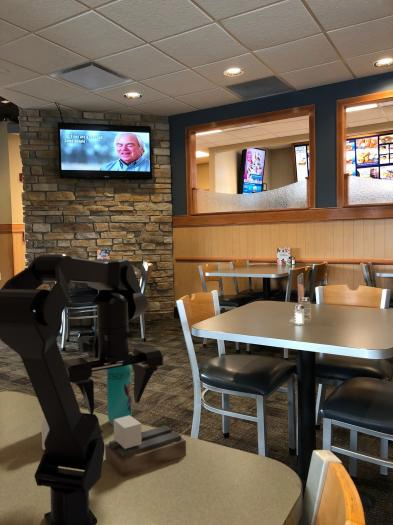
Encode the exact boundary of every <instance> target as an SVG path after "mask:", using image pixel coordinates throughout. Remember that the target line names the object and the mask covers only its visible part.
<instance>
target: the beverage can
mask: <svg viewBox="0 0 393 525" xmlns="http://www.w3.org/2000/svg"><path fill="white" fill-rule="evenodd" d="M120 362H122V361H120ZM109 364H111V363H109ZM106 387H107V390H106V391H107V392H106V394H107V395H106V396H107V418H108V420H109V422H110V424H111V425H113V426H114V419H117V418H121V417H125V416H129V415H130V416H131V417H133V416H132V415H133V406H132V405H133V401H132V400H133V398H132V394H133V392H132V365H126V366H121V367H115V368H110V369H106Z"/></svg>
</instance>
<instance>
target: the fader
mask: <svg viewBox="0 0 393 525" xmlns="http://www.w3.org/2000/svg"><path fill="white" fill-rule="evenodd" d="M141 432H142V423H141V422H140V421H139V420H137V419H136V418H134V417H133V416H130V415H129V416H125V417H121V418H117V419H114V425H113V440H115V441H117V442H118V443H119V444H120V445H121V446H122V447H123V448H124V449H126V448H130V447H133V446H136V445H140V444H141Z"/></svg>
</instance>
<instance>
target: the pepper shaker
mask: <svg viewBox="0 0 393 525" xmlns="http://www.w3.org/2000/svg"><path fill="white" fill-rule="evenodd" d="M48 431H49V426H48V424H47V421H46V419H45V416H44V415H43V416H42V417H41V449H42V450H43V451H45V445H44V441H45V439H46V436H47V434H48Z"/></svg>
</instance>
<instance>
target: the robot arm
mask: <svg viewBox="0 0 393 525" xmlns="http://www.w3.org/2000/svg"><path fill="white" fill-rule="evenodd" d="M45 282H46V283H49V282H50V283H51V282H53V283H55V284H54V285H53V287H52V288H51V290H49V289H46V288H45V289H43V288H42V289H41V288H40V289H39V287H40V286H42V284H43V283H45ZM70 282H72V283H83V284H84V283H85V284H87V286H88V287H89V288H92V289H94V290H98V293H97V294H96V295H95V296H94V298H93V299H92V300H91V304H92V305H95V306H96V314H97V316H96V319H97V322H96V323H97V325H96V326H97V327H96V328H97V329H96V330H95V331H94V338H91V337H90V335H82V336H79V337H78V338H77V350H78V353H79V354H80V355H81V354H87V355H88V358H90V359H91V358H94V359H96V360H90V361H89V360H86V359H85V358H84V357H81V356H80V357H74V358H70V359H63V356H62V354H61V350H60V348H59V345H58V341H57V338H58V336H59V334H60V332H61V331H60V330H61V328H62V326H63V319H62V314H63V311H64V310H65V309H66V307H67V305H68V303H69V301H70V295H69V294H70V293H69V286H68V285H69V284H70ZM147 308H148V300H147V298H146V296H145V294H144V293H143V292H142V288H141V286H140V283H139V280H138V277H137V275H136V271H135V268H134V267H133V265H132V264H131V261H130V260H128V259H127V258H121V259H120V258H117V259H115V258H113V259H112V258H108V259H107V258H101V259H99V258H97V259H91V260H90V259H86V258H80V257H79V258H78V257H73V256H70V255H67V254H63V253H60V254H59V253H57V254H53V253H52V254H50V253H48V254H47V253H46V254H40V255H38V256H35V257H34V259H33V260H32V261H31V262H30V264H29V265H28V266H27V267H26V268H24V269H23V270H21V271H20V272H18V273H16V274H15V275H14V276H12V277H11V278H9V279H8V280H7V281H6V282H5V283H4V284H3V285H2V287H1V288H0V341H1V342H2V343H3V344H5V345H6V346H8V347H9V349H11V350H12V351H14V352H15V353H16V354H18V355H19V356H20V359H21V361H22V363H23V366H24V368H25V371H26V375H27V376H28V378H29V382H30V383H31V385H32V389H33V391H34V394H35V396H36V399H37V401H38V403H39V406H40V408H41V411H42V413H43V416H45V419H46V421H47V424H48V426H49V431H48V434H47V436H46V439H45V441H44V445H45V450H43V454H42V456H41V459H40V461H39V463H38V465H37V467H36V468H37V469H36V471H35V472H34V481H35V483H36V486H37V487H48V488H49V489H50V493H49V494H50V496H49V497H50V511H48V512H46V513H44V515H43V519H44V521H45V522H46V525H96V524H98V518H97V516H96V515H95V514H94V512H93V511H92V509H91V508H90V490H91V489H92V488H93V487H94V486H95V485H96V484H97V483H98V482H99V480H100V479H101V477H102V471H103V463H104V458H105V441H104V437H103V435H102V434H103V432H104V431H103V429H102V428H101V426H100V421H99V417H98V416H97V415H96V413H94V411H95V387H94V386H95V382H94V380H93V379H92V378H91V377H92V375H93V372H98V371H103V370H107V369H110V368H115V367H121V366H126V365H131V368H132V370H133V373H134V374H133V400H134V402H135V404H138V403H139V402H140V401H141V398H142V396H143V394H144V392H145V389H146V387H147V386H148V383H149V382H150V380H151V378H152V376H153V375H154V372H156V371H158V370H159V368H158V367H160V366H163V365H164V354H163V352H162V351H161V350H160V349H157V348H155V347H153V346H150V345H149V346H148V345H147V346H143V347H136V348H134V349H133V351H132V353H131V352H130V349H129V348H130V346H129V345H130V344H129V343H130V340H129V339H130V338H132V335H133V334H132V331H130V330H129V321H131V320H133V319H135V318H138V317H140V316H142V315H143V314H145V313H146V310H147ZM120 361H122V362H120ZM109 363H111V364H109ZM73 385H75V386H76V387H78V388H79V391H80V392H81V395H82V397H83V398H82V399H83V400H84V403H85V405H86V407H87V410H88V413H85V412H81V408H80V406H79V403H78V400H77V396H76V394H75V390H74V389H73Z"/></svg>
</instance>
